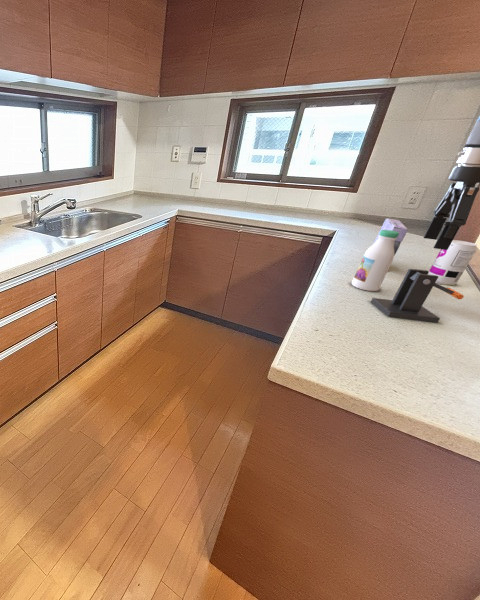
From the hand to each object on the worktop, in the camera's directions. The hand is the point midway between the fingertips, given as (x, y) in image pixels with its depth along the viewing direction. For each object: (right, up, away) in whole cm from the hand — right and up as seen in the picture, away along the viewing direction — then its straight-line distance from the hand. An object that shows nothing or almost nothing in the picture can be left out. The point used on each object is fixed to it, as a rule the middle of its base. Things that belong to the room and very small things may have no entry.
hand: (434, 243), depth 95 cm
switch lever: (-3, -13, -2) cm, 14 cm away
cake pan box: (+21, -2, +41) cm, 46 cm away
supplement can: (+30, -10, +26) cm, 41 cm away
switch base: (-7, -20, +2) cm, 22 cm away
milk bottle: (-4, -12, +19) cm, 23 cm away
